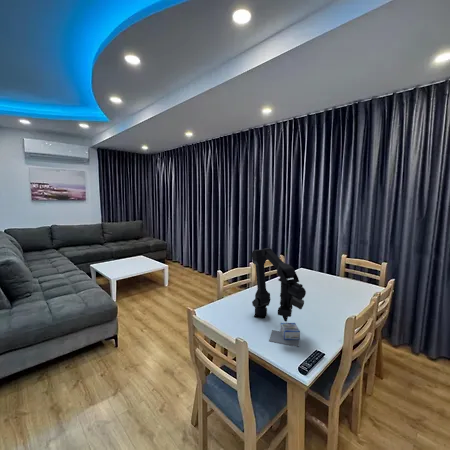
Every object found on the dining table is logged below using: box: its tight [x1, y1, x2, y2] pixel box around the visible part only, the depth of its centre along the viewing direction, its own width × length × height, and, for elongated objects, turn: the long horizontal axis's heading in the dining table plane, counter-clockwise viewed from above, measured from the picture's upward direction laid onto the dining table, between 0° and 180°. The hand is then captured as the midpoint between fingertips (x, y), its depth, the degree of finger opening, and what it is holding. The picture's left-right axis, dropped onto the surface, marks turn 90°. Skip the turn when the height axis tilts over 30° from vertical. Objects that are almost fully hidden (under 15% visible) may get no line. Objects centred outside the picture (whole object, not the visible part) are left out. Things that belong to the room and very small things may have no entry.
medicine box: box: [279, 322, 301, 341], centre depth 122 cm, size 8×4×9 cm
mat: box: [268, 329, 300, 348], centre depth 120 cm, size 14×10×1 cm
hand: (285, 321), depth 122 cm, fingers closed
